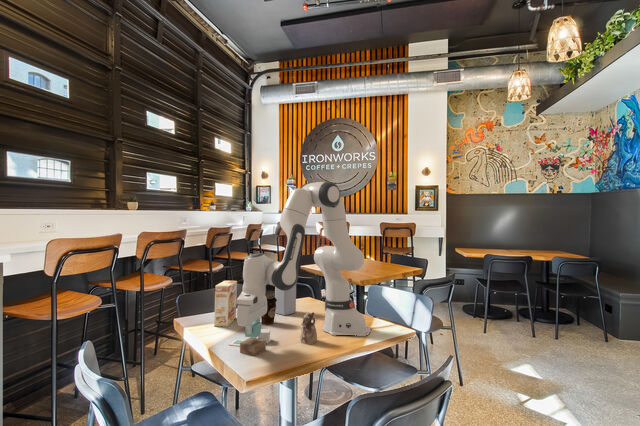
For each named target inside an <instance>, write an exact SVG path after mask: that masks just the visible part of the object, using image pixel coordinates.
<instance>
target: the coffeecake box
mask: <svg viewBox="0 0 640 426" xmlns="http://www.w3.org/2000/svg"><path fill="white" fill-rule="evenodd" d="M214 286H215V287H214V289H215V291H214V316H213V317H214V320H213V322H214V323H213V326H214V327H221V326H223V328H224V327H226V328H228V327H229V326H230V325H231V324H233V322H234V321H235V320H236V319H237V294H238V293H237V290H238V281H237V280H222V282H219V283H218V284H216V285H214ZM235 318H236V319H235ZM234 319H235V320H234Z"/></svg>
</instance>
